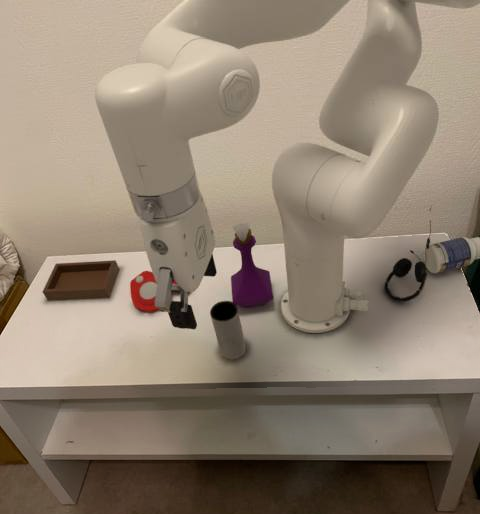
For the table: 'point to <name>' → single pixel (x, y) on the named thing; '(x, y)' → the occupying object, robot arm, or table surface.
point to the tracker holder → (145, 291)
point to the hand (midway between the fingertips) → (196, 299)
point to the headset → (403, 269)
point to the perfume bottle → (249, 273)
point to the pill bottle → (452, 254)
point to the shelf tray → (81, 280)
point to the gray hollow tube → (228, 329)
